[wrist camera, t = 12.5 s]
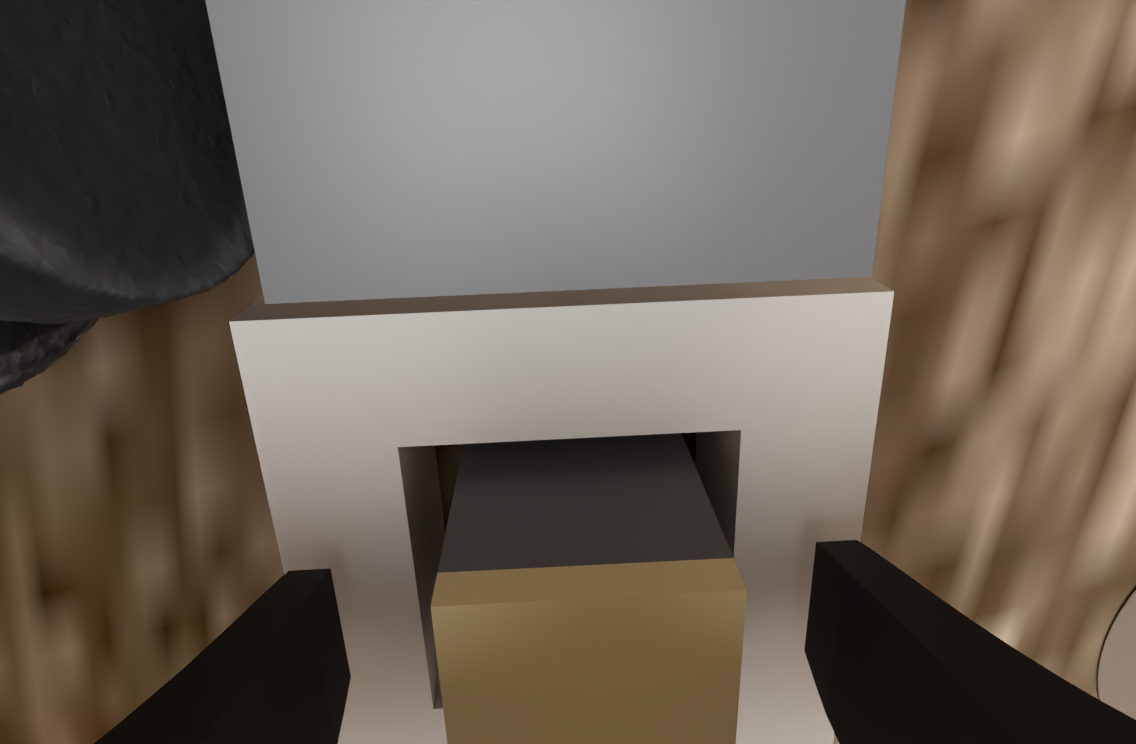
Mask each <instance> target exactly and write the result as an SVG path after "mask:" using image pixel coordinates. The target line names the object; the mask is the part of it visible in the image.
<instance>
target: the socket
mask: <svg viewBox="0 0 1136 744" xmlns="http://www.w3.org/2000/svg"><path fill="white" fill-rule="evenodd" d="M893 297H894V291H893V290H891V289H889V288H888V287H886V286H884V285H883V284H881V283H879V282H878V281H876V280H874V279H872V278H871V277H856V278H834V279H811V280H789V281H767V282H745V283H722V284H700V285H678V286H656V287H633V288H611V289H589V290H567V291H544V292H522V293H500V294H478V295H456V296H433V297H411V298H389V299H367V300H344V301H322V302H300V303H278V304H265V301H264V296H263V295H262V296H261V297H260V298H258V299H257V300H256V301H255V302H253V303H252V304H251V305H250V306H248V307H247V308H246V309H244V310H243V311H242V312H241V313H239V314H238V315H237V316H236V317H234V318H233V319H232V320H230V321H229V324H230V328H231V333H232V337H233V342H234V347H235V351H236V356H237V360H238V365H239V370H240V374H241V379H242V383H243V388H244V393H245V397H246V402H247V406H248V411H249V416H250V420H251V425H252V429H253V434H254V439H255V443H256V448H257V452H258V457H259V462H260V466H261V471H262V475H263V480H264V484H265V489H266V494H267V498H268V503H269V507H270V512H271V517H272V521H273V526H274V530H275V535H276V540H277V544H278V549H279V553H280V558H281V563H282V567H283V572H284V575H285V574H286V573H287V572H288V571H293V570H311V569H330V568H331V574H332V579H333V584H334V590H335V595H336V600H337V605H338V611H339V616H340V621H341V627H342V632H343V637H344V643H345V648H346V653H347V659H348V664H349V669H350V675H351V679H350V684H349V689H348V695H347V700H346V705H345V710H344V715H343V720H342V725H341V729H340V734H339V739H338V743H337V744H447V736H446V728H445V720H444V712H443V704H442V696H441V688H440V680H439V671H438V663H437V655H436V647H435V639H434V631H433V623H432V615H431V602H432V597H433V592H434V587H435V582H436V577H437V572H438V567H439V562H440V558H441V553H442V548H443V543H444V538H445V527H444V518H443V510H442V501H441V492H440V484H439V475H438V466H437V458H436V449H435V445H452V444H472V443H492V442H512V441H532V440H552V439H572V438H592V437H612V436H632V435H652V434H672V433H692V432H696V453H695V467H696V469H697V472H698V474H699V476H700V479H701V481H702V484H703V486H704V488H705V491H706V493H707V496H708V498H709V500H710V503H711V505H712V508H713V510H714V513H715V515H716V517H717V520H718V522H719V525H720V527H721V529H722V532H723V534H724V537H725V539H726V541H727V544H728V546H729V549H730V551H731V554H732V556H733V558H734V561H735V563H736V566H737V568H738V570H739V573H740V575H741V578H742V580H743V582H744V585H745V587H746V590H747V596H746V609H745V623H744V637H743V650H742V664H741V678H740V691H739V705H738V718H737V732H736V744H833V740H834V731H833V728H832V726H831V724H830V722H829V720H828V718H827V716H826V713H825V710H824V707H823V704H822V702H821V699H820V696H819V693H818V690H817V687H816V685H815V682H814V678H813V675H812V672H811V669H810V666H809V663H808V660H807V657H806V654H805V651H804V648H805V639H806V630H807V621H808V611H809V602H810V593H811V584H812V574H813V565H814V556H815V547H816V542H825V541H843V540H858V541H859V542H860V541H861V534H862V526H863V519H864V511H865V504H866V497H867V489H868V482H869V474H870V467H871V460H872V452H873V445H874V437H875V430H876V423H877V415H878V408H879V401H880V393H881V386H882V378H883V371H884V364H885V356H886V349H887V341H888V334H889V327H890V319H891V312H892V304H893Z"/></svg>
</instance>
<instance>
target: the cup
mask: <svg viewBox="0 0 1136 744" xmlns="http://www.w3.org/2000/svg"><path fill="white" fill-rule="evenodd" d="M1098 694H1099V699H1100V701H1102V702H1104V703H1106V704H1108V705H1109V706H1111V707H1113V708H1115V709H1117V710H1119V711H1120V712H1122V713H1124V714H1126V715H1128V716H1130V717H1131V718H1133V719H1135V720H1136V590H1135V591H1134V592H1133V594H1132V595H1131V596H1130V598H1129V599H1128V600H1127V602H1126V603H1125V605H1124V606H1123V608H1122V609H1121V611H1120V612H1119V614H1118V616H1117V618H1116V620H1115V621H1114V623H1113V625H1112V627H1111V629H1110V632H1109V634H1108V636H1107V638H1106V641H1105V644H1104V647H1103V650H1102V653H1101V658H1100V663H1099V669H1098Z"/></svg>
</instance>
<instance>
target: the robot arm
mask: <svg viewBox="0 0 1136 744" xmlns="http://www.w3.org/2000/svg"><path fill="white" fill-rule="evenodd" d="M804 651H805V654H806V657H807V660H808V663H809V666H810V669H811V672H812V675H813V678H814V682H815V685H816V687H817V690H818V693H819V696H820V699H821V702H822V704H823V707H824V710H825V713H826V716H827V718H828V720H829V722H830V724H831V726H832V728H833V731H834V733H835V735H836V737H837V739H838V741H839V743H840V744H1136V720H1135V719H1133V718H1131V717H1130V716H1128V715H1126V714H1124V713H1122V712H1120V711H1119V710H1117V709H1115V708H1113V707H1111V706H1109V705H1108V704H1106V703H1104V702H1102V701H1100V700H1099V699H1097V698H1095V697H1093V696H1091V695H1089V694H1088V693H1086V692H1084V691H1083V690H1081V689H1079V688H1077V687H1076V686H1074V685H1072V684H1071V683H1069V682H1067V681H1066V680H1064V679H1062V678H1060V677H1059V676H1057V675H1056V674H1054V673H1052V672H1051V671H1049V670H1048V669H1046V668H1044V667H1043V666H1041V665H1040V664H1038V663H1036V662H1035V661H1033V660H1032V659H1030V658H1028V657H1027V656H1025V655H1024V654H1022V653H1020V652H1019V651H1017V650H1016V649H1014V648H1012V647H1011V646H1009V645H1008V644H1006V643H1005V642H1003V641H1002V640H1000V639H999V638H997V637H996V636H994V635H993V634H991V633H990V632H988V631H987V630H985V629H984V628H982V627H981V626H979V625H978V624H976V623H975V622H973V621H972V620H970V619H969V618H968V617H966V616H965V615H963V614H962V613H960V612H959V611H957V610H956V609H955V608H953V607H952V606H950V605H949V604H947V603H946V602H945V601H943V600H942V599H940V598H939V597H937V596H936V595H935V594H933V593H932V592H930V591H929V590H928V589H926V588H925V587H923V586H922V585H921V584H919V583H918V582H916V581H915V580H914V579H912V578H911V577H909V576H908V575H907V574H905V573H904V572H903V571H901V570H900V569H898V568H897V567H896V566H894V565H893V564H891V563H890V562H889V561H887V560H886V559H884V558H883V557H881V556H880V555H879V554H877V553H876V552H874V551H873V550H871V549H870V548H868V547H867V546H865V545H864V544H862V543H861V542H859V541H858V540H843V541H825V542H816V547H815V556H814V565H813V574H812V584H811V593H810V602H809V611H808V621H807V630H806V639H805V648H804ZM350 679H351V675H350V669H349V664H348V659H347V653H346V648H345V643H344V637H343V632H342V627H341V621H340V616H339V611H338V605H337V600H336V595H335V590H334V584H333V579H332V574H331V568H330V569H311V570H293V571H288V572H287V573H286V574H285V575H284V576H282V577H281V578H280V579H279V580H278V581H277V582H276V583H275V584H274V585H272V586H271V587H270V588H269V589H268V590H267V591H266V592H265V593H264V594H263V595H262V596H261V597H260V598H259V599H258V600H257V601H256V602H254V603H253V604H252V605H251V606H250V607H249V608H248V609H247V610H246V611H245V612H244V613H243V614H242V615H241V616H240V617H239V618H238V619H237V620H236V621H234V622H233V623H232V624H231V625H230V626H229V627H228V628H227V629H226V630H225V631H224V632H223V633H222V634H221V635H219V636H218V637H217V638H216V639H215V640H214V641H213V642H212V643H211V644H210V645H209V646H208V647H206V648H205V649H204V650H203V651H202V652H201V653H200V654H199V655H198V656H197V657H196V658H195V659H193V660H192V661H191V662H190V663H189V664H188V665H187V666H186V667H185V668H184V669H182V670H181V671H180V672H179V673H178V674H177V675H176V676H174V677H173V678H172V679H171V680H170V681H168V682H167V683H166V684H165V685H164V686H163V687H161V688H160V689H159V690H158V691H157V692H156V693H154V694H153V695H152V696H151V697H150V698H148V699H147V700H146V701H145V702H144V703H143V704H141V705H140V706H139V707H138V708H137V709H136V710H134V711H133V712H132V713H131V714H130V715H129V716H127V717H126V718H125V719H124V720H123V721H121V722H120V723H119V724H118V725H117V726H115V727H114V728H113V729H112V730H110V731H109V732H108V733H107V734H105V735H104V736H103V737H102V738H100V739H99V740H98V741H97V742H95V743H94V744H337V743H338V739H339V734H340V729H341V725H342V720H343V715H344V710H345V705H346V700H347V695H348V689H349V684H350Z"/></svg>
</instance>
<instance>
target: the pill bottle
mask: <svg viewBox="0 0 1136 744" xmlns="http://www.w3.org/2000/svg"><path fill="white" fill-rule="evenodd" d="M254 252H255V250H254V245H253V240H252V235H251V230H250V225H249V220H248V215H247V210H246V204H245V199H244V194H243V189H242V184H241V179H240V174H239V169H238V164H237V159H236V154H235V149H234V143H233V138H232V133H231V128H230V123H229V118H228V113H227V108H226V103H225V98H224V93H223V87H222V82H221V77H220V72H219V67H218V62H217V57H216V52H215V47H214V42H213V37H212V32H211V26H210V21H209V16H208V11H207V6H206V1H205V0H0V394H2V393H4V392H6V391H7V390H10V389H13V388H16V387H19V386H22V385H23V383H24V382H25V381H27V380H28V379H30V378H32V377H34V376H35V375H37V374H39V373H42V372H44V371H45V370H46V369H47V368H48V367H50V366H51V365H52V364H53V363H54V362H56V361H57V360H58V359H60V358H61V357H62V356H64V355H65V354H66V353H67V352H68V351H69V349H70V348H71V347H72V346H73V345H74V344H75V343H77V341H78V340H79V339H80V338H81V336H82V335H83V334H84V333H85V332H86V331H88V330H89V329H90V328H91V327H92V326H93V325H94V324H95V323H96V321H97V320H98V319H99V317H106V316H111V315H114V314H117V313H123V312H127V311H131V310H135V309H142V308H144V307H148V306H154V305H159V304H164V303H168V302H171V301H175V300H178V299H182V298H185V297H188V296H191V295H194V294H198V293H202V292H205V291H208V290H210V289H211V288H213V287H214V286H216V285H218V284H220V283H222V282H224V281H225V280H227V279H228V278H229V277H230V276H231V275H234V274H236V272H237V271H238V270H239V269H240V268H241V267H242V266H243V265H244V264H245V263H246V262H247V261H248V259H249V258H250V257H251V256H252V255H253V254H254Z"/></svg>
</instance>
